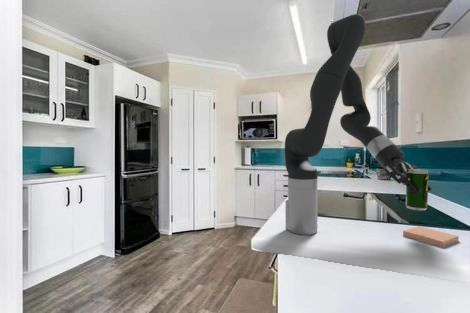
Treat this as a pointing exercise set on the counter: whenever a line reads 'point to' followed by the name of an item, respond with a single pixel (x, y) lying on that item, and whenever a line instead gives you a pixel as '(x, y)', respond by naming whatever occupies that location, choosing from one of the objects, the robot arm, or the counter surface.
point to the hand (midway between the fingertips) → (423, 191)
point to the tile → (431, 236)
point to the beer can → (421, 198)
